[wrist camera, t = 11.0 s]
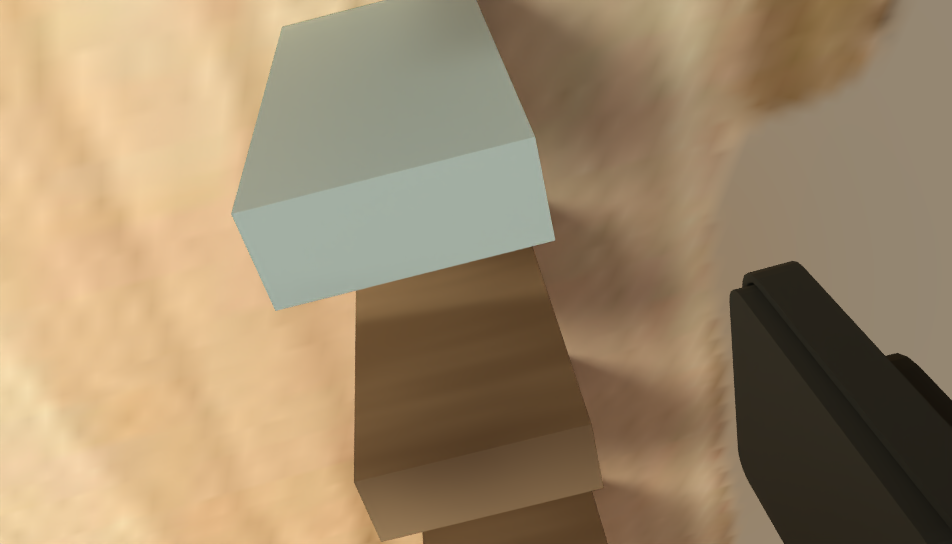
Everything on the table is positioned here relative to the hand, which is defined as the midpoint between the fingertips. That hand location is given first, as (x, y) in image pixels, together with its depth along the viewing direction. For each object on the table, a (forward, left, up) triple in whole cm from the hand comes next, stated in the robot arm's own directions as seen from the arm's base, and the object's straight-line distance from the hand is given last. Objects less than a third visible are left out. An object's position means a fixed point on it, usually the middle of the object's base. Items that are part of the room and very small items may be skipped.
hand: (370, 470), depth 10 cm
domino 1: (+1, 0, -15) cm, 15 cm away
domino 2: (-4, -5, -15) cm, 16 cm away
